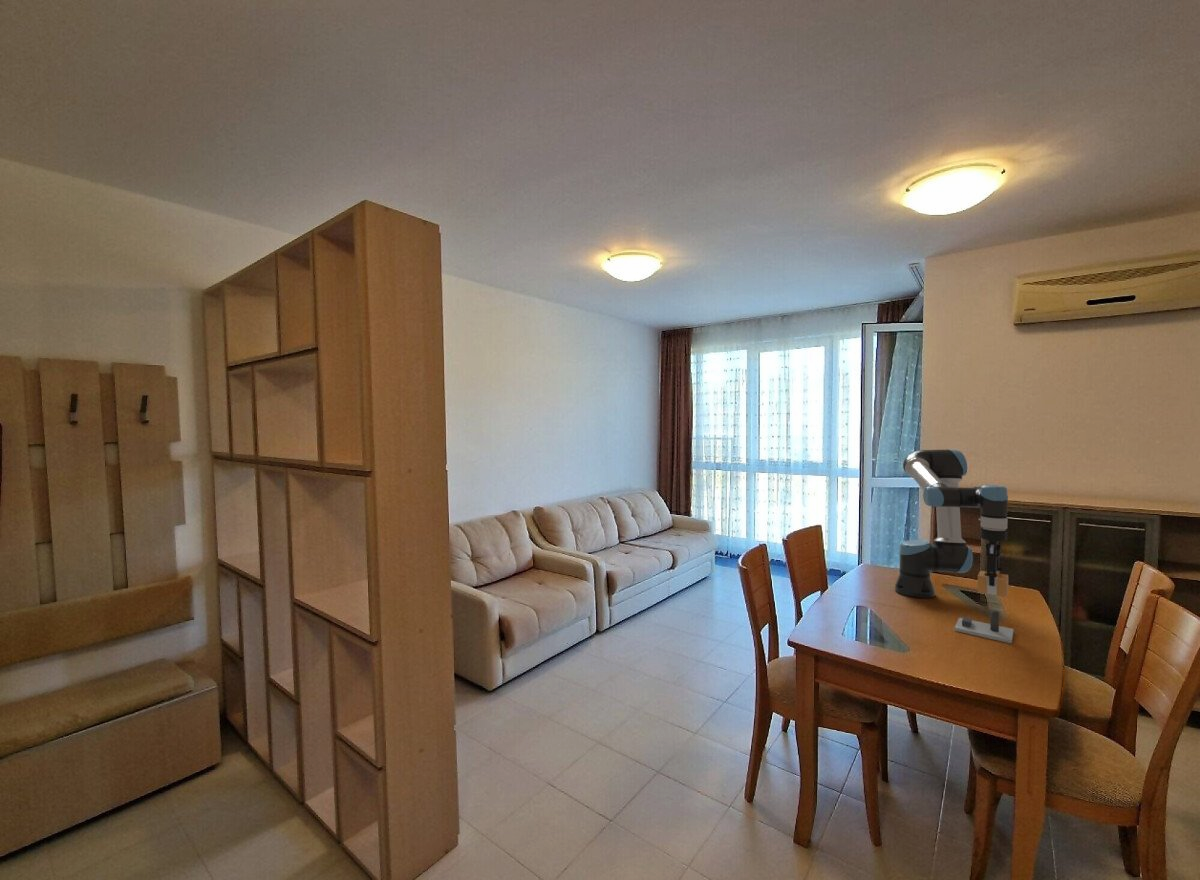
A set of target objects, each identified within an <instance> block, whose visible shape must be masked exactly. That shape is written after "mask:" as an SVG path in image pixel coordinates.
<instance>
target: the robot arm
mask: <svg viewBox="0 0 1200 880" xmlns="http://www.w3.org/2000/svg"><path fill="white" fill-rule="evenodd" d="M902 468H903V471H904V472H905V474H906V475H907V476H908V477H910V478H912V479H913V480H914V481H915V482H916V484H918V486H919V487H920V488H921V490H922V491H923V493H922V499H923V501H924V504H925V505H926V506H929V507H935V508H936V512H935V513H936V525H937V526H936V531H937V537H935V538H934V539H933V543H931V542H930V541H929V540H926V539H923V540H922V539H911V540H910V539H909V540H904V541H901V543H900V544H899V551H898V554H899V574H898V577H897V579H896V582H895V584H894V591H895V592H896V593H898V594H900V595H902V596H906V597H910V598H916V599H932V598H934V597H935V596H936V590H935V586H934V585H933V582H932V578H931V572H942V573H943V572H944V573H954V574H957V573H959V574H961V573H962V574H964V573H968V572H969V571H970V570H971V568H972V566H973V562H974V556H973V555H974V554H973V550H972V548H971V547H970V546H969V545H967V541H965V539H963V538H962V525H961V524H962V523H961V509H960V508H976V509H977V508H978V509H980V513H979V514H980V517H979V518H978V521H980V527H981V528H980V529H979V531H980V532H979V533H980V538H981V539H982V540H986V541H988V543H986V545H985V549H986V559H987V560H986V562H987V563H986V572H987V573H986V574H985V576H987V594H986V595H991V596H997V575H996V573H998V574H1000V572H1002V571H1003V570H1002V569H1003V568H1002V567H1001V565H1000V563H1001V562H1000V556H1001V549H1002V545H1001V543H1000V542H1006V541H1008V531H1007V530H1008V522H1009V521H1008V499H1009V494H1008V488H1007V487H1006V486H1003V485H996V484H986V485H985V484H984V485H982V486H970V487H959V483H960V482H961V481H963V477H964V476H966V474H968V463H967V459H966V456H965V455H964V453H963V452H962V451H960V450H957V449H919V450H914V451H912V452H911V453H909V454H908V455H907V456H906V457H905V459H904V460H903V463H902ZM991 572H992V573H991Z"/></svg>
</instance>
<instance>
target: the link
mask: <svg viewBox="0 0 1200 880" xmlns="http://www.w3.org/2000/svg"><path fill="white" fill-rule="evenodd" d="M986 573H987V571H984V570H979V572H978V575H977V593H980V594H986V595H988V594H987V576H985V574H986ZM991 573H992V572H991ZM996 575H997V596H999V597H1002V598H1003V597H1004V598H1007V597H1008V594H1009V574H1005V573H999V574H998V573H996Z"/></svg>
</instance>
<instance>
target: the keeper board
mask: <svg viewBox="0 0 1200 880" xmlns="http://www.w3.org/2000/svg"><path fill="white" fill-rule="evenodd" d="M989 615H990V617H989V618H990V620H989V621H990V622H989V623H987V622H983V621H978V620H977V621H976V620H973V618H972V617H969V616H963V617H958V620H957V622H956V624H955V625H954V631H955V632H959V633H964V634H968V635H971V636H977V637H981V638H985V639H988V640H989V639H990V640H993V641H994V640H995V641H998V642H999V641H1000V642H1003V643H1008V644H1011V645H1012V643H1013V639H1014V638H1013V637H1014V628H1011V627H1006V626H1001V625H1000V611H998V610H996V609H995V610H994V609H991V610H990V614H989Z"/></svg>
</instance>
